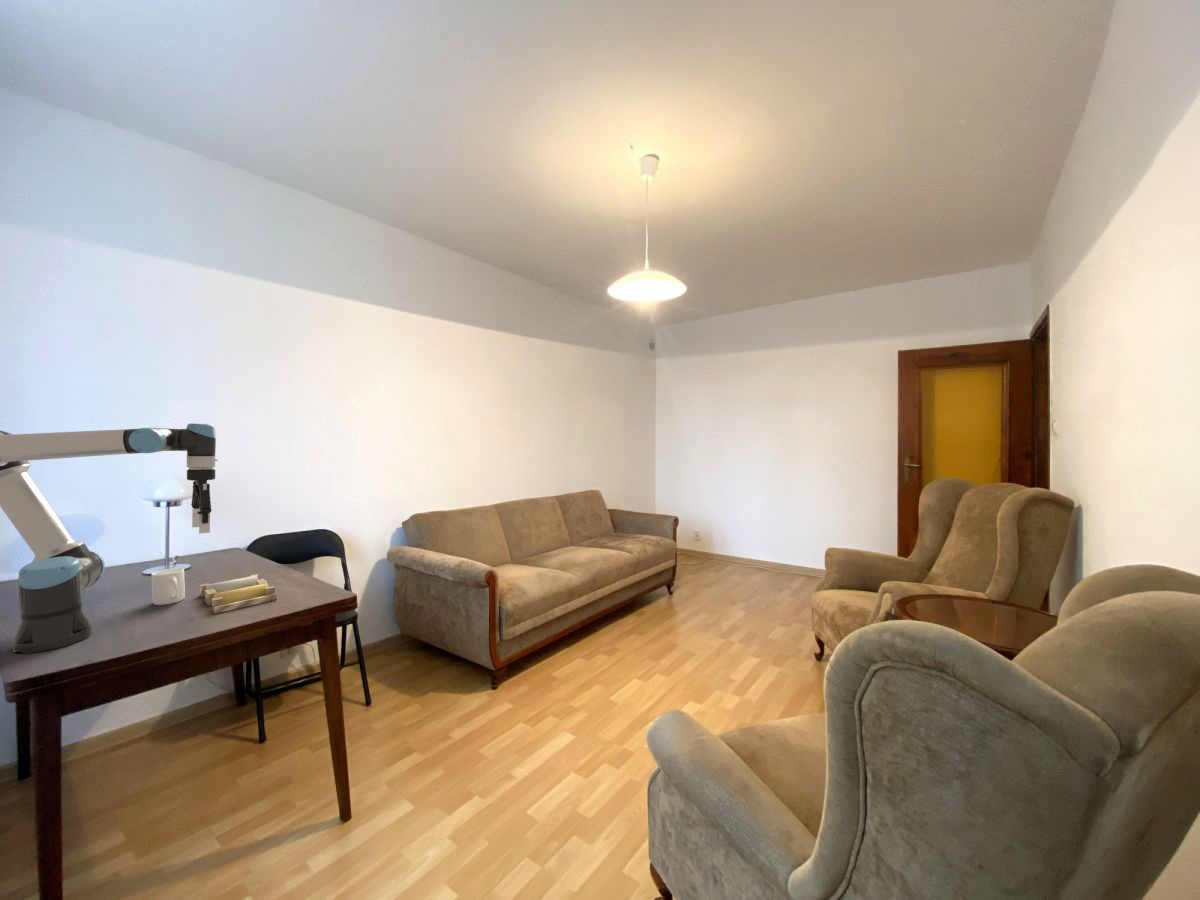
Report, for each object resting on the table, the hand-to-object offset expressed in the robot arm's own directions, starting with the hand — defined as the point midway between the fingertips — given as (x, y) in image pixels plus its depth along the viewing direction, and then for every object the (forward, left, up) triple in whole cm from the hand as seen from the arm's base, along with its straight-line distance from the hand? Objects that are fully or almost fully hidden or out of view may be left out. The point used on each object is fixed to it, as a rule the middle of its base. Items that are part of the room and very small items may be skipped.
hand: (200, 529), depth 163 cm
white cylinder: (+10, +9, -27) cm, 30 cm away
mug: (-7, +14, -27) cm, 31 cm away
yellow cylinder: (+10, -5, -27) cm, 29 cm away
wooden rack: (+10, +2, -27) cm, 29 cm away
